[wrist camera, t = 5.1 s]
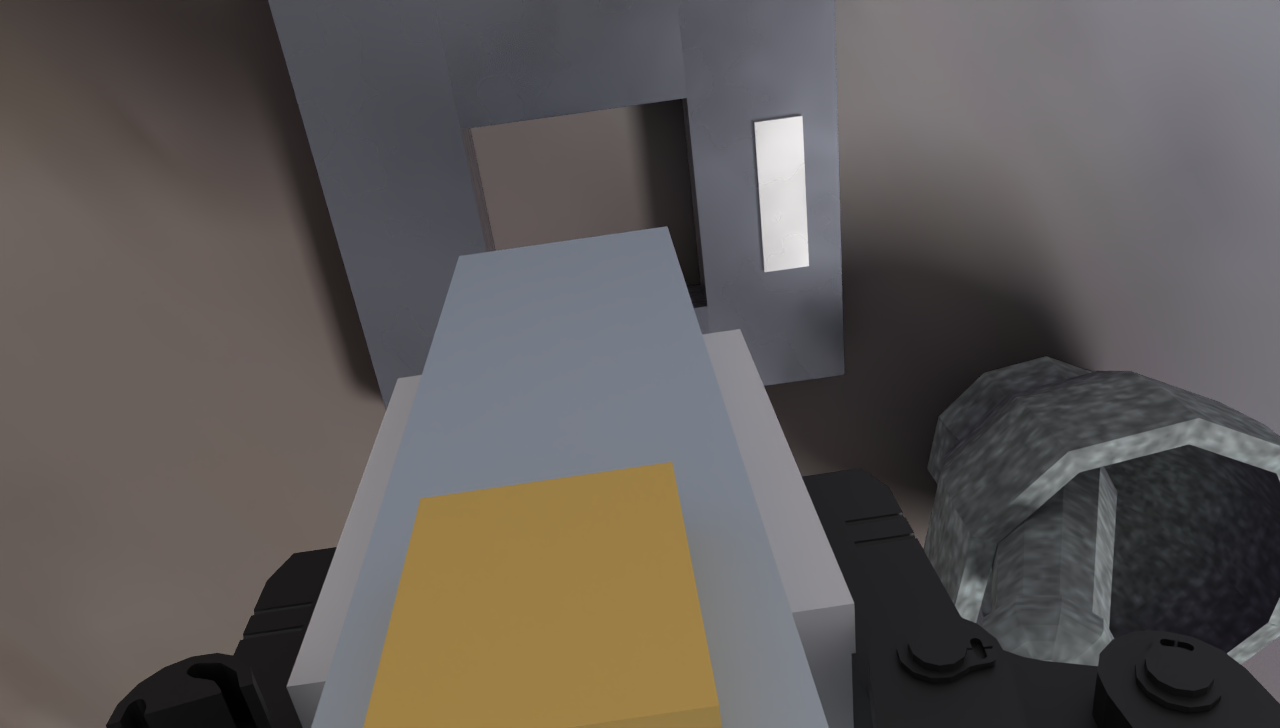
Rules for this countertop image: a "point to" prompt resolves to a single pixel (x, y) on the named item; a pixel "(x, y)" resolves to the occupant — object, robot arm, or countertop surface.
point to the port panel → (567, 84)
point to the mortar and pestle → (1104, 513)
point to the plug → (569, 519)
